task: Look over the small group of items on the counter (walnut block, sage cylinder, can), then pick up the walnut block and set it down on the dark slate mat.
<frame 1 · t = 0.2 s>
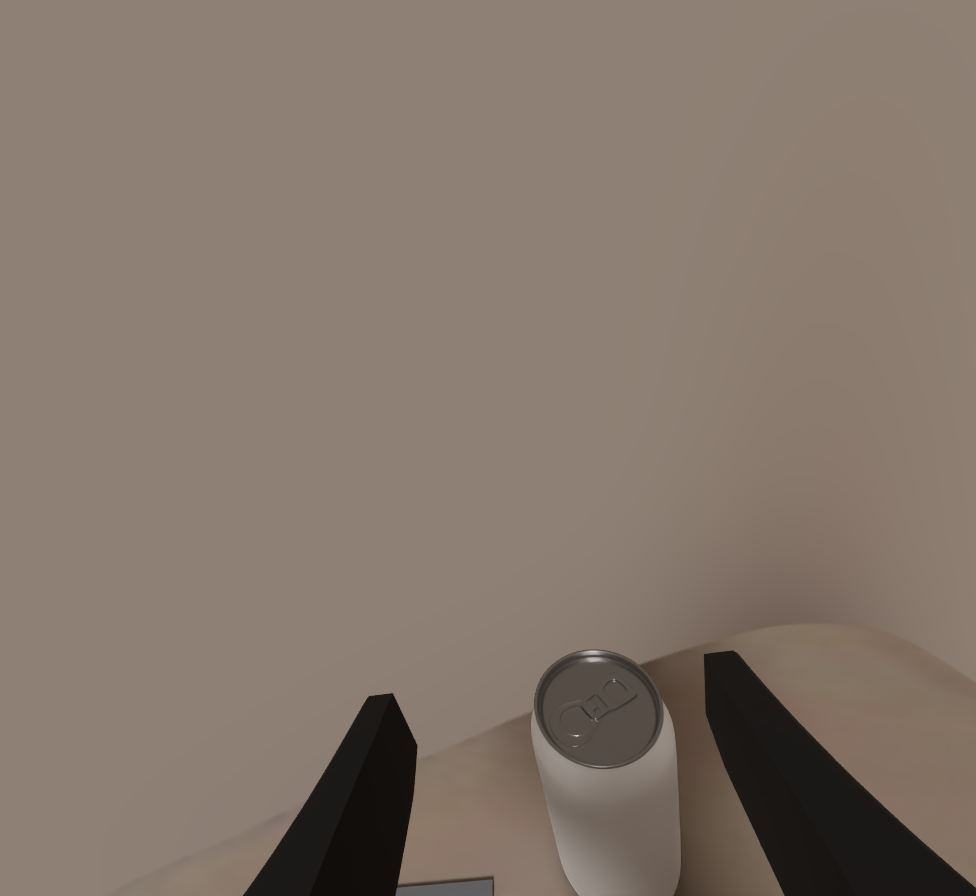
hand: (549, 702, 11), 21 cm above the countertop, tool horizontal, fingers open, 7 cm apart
can: (618, 849, 25), on the countertop
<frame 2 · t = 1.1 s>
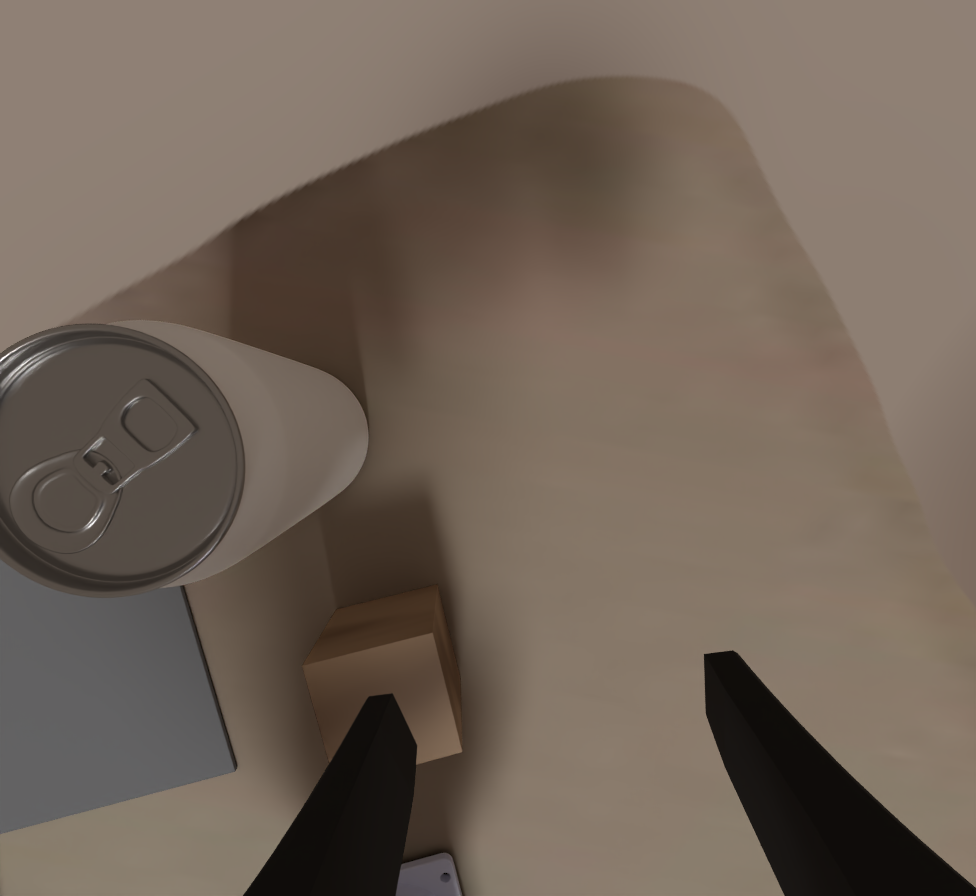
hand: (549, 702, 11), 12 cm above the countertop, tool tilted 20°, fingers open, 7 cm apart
can: (302, 435, 21), on the countertop
walnut block: (399, 643, 22), on the countertop
slate mat: (45, 671, 21), on the countertop
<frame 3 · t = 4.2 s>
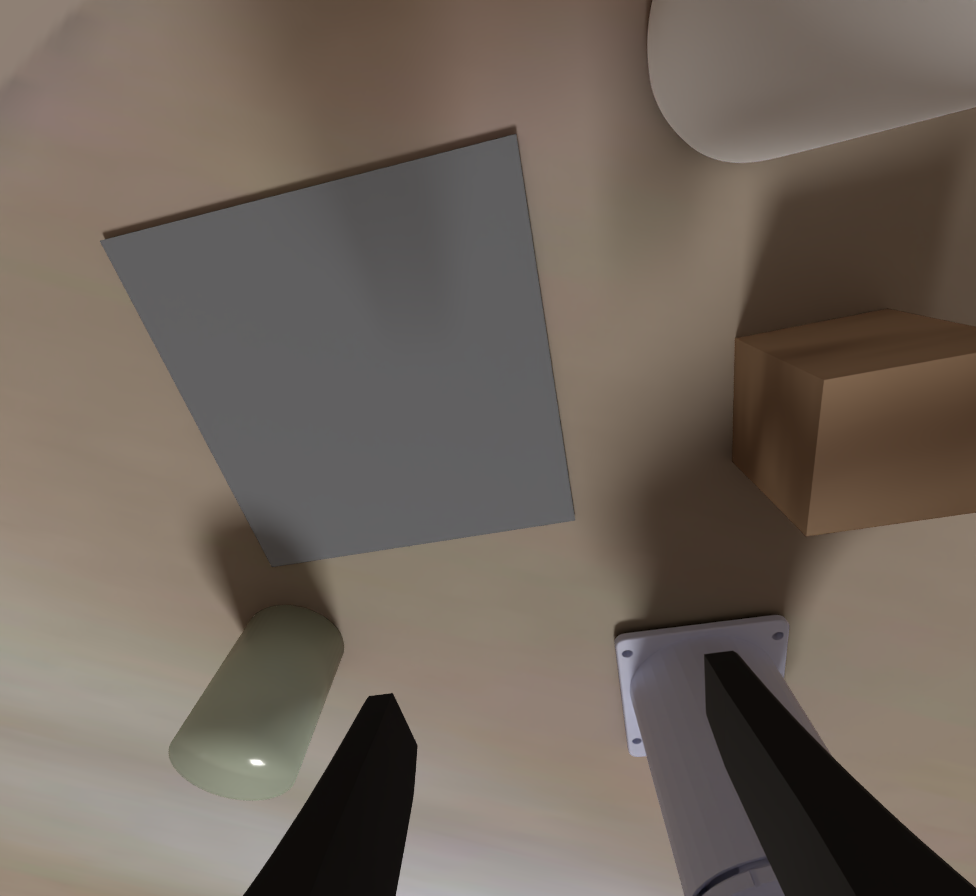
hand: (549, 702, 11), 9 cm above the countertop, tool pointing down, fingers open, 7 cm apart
sage cylinder: (295, 641, 23), on the countertop
can: (758, 30, 12), on the countertop
walnut block: (802, 390, 17), on the countertop
slate mat: (368, 396, 17), on the countertop
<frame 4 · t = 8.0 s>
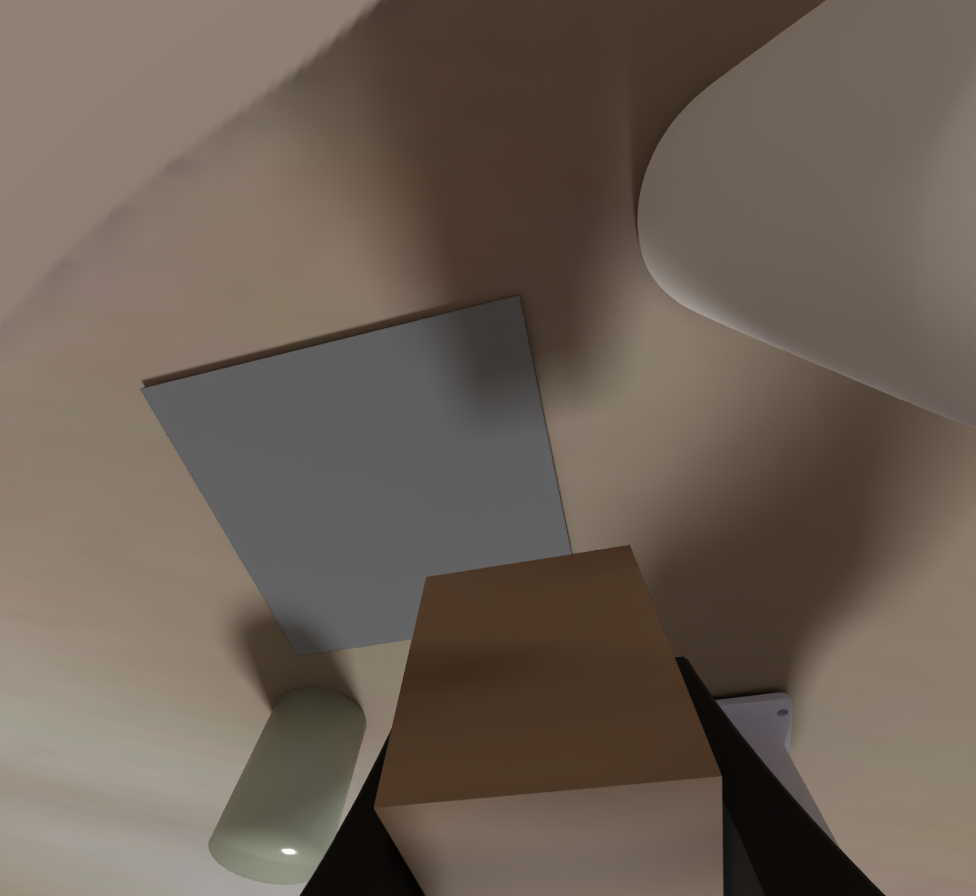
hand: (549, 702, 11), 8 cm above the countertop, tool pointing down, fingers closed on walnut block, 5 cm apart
sage cylinder: (320, 718, 25), on the countertop
can: (740, 203, 14), on the countertop
walnut block: (542, 634, 12), point 7 cm above the countertop, touching gripper
slate mat: (386, 510, 19), on the countertop
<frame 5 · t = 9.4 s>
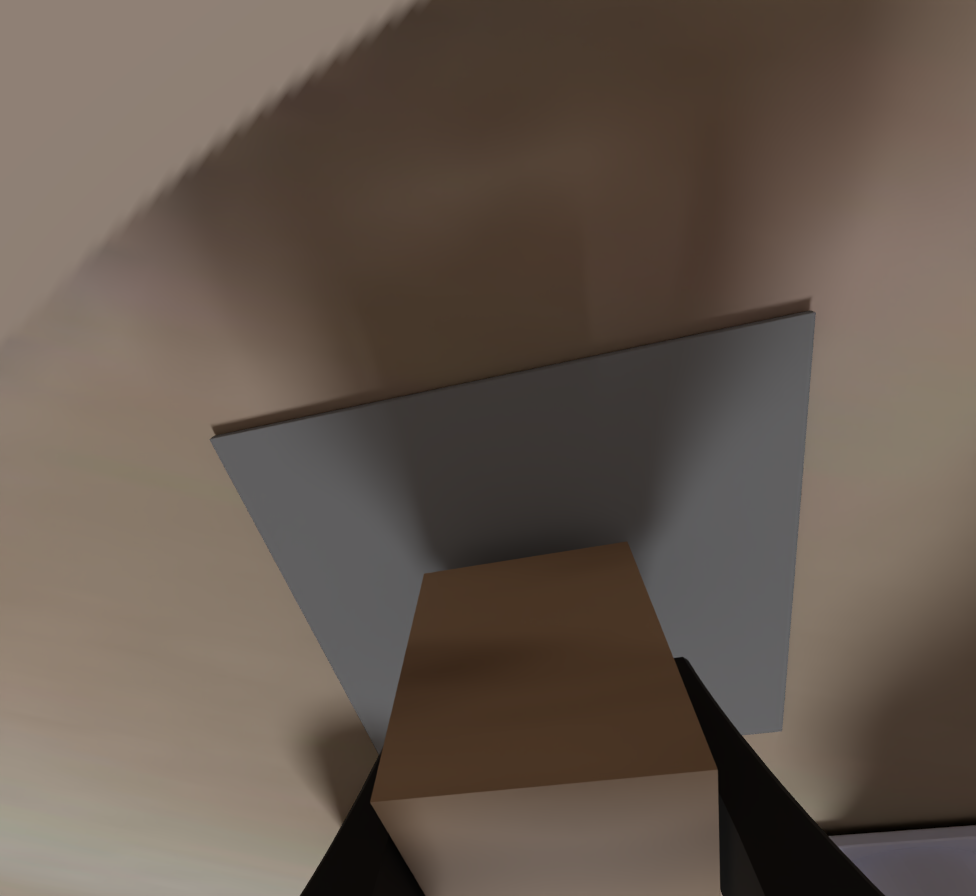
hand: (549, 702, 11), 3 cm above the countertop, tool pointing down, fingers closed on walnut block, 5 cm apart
walnut block: (540, 631, 12), point 1 cm above the countertop, touching gripper
slate mat: (539, 602, 13), on the countertop
when the fingers open (3 cm above the countertop, at t = 10.0 s): walnut block stays where it is, resting on slate mat.
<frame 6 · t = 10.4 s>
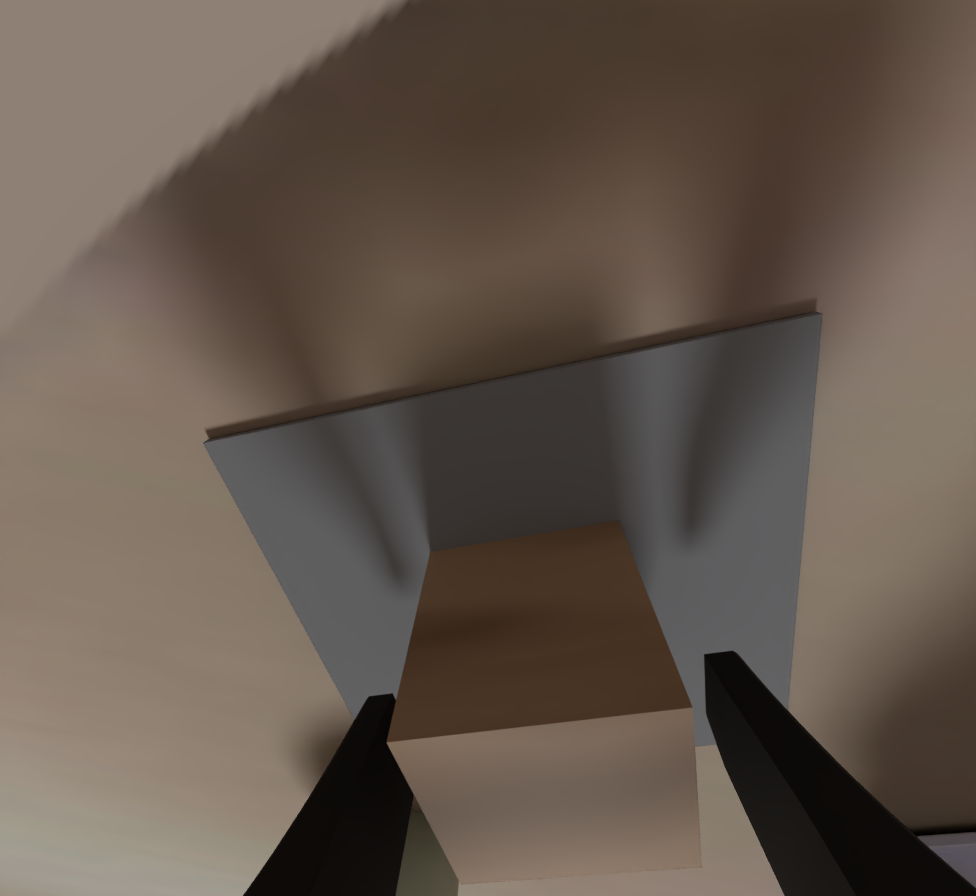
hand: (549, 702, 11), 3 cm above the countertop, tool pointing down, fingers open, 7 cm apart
sage cylinder: (402, 841, 19), on the countertop
walnut block: (538, 606, 13), resting on slate mat
slate mat: (539, 608, 13), on the countertop
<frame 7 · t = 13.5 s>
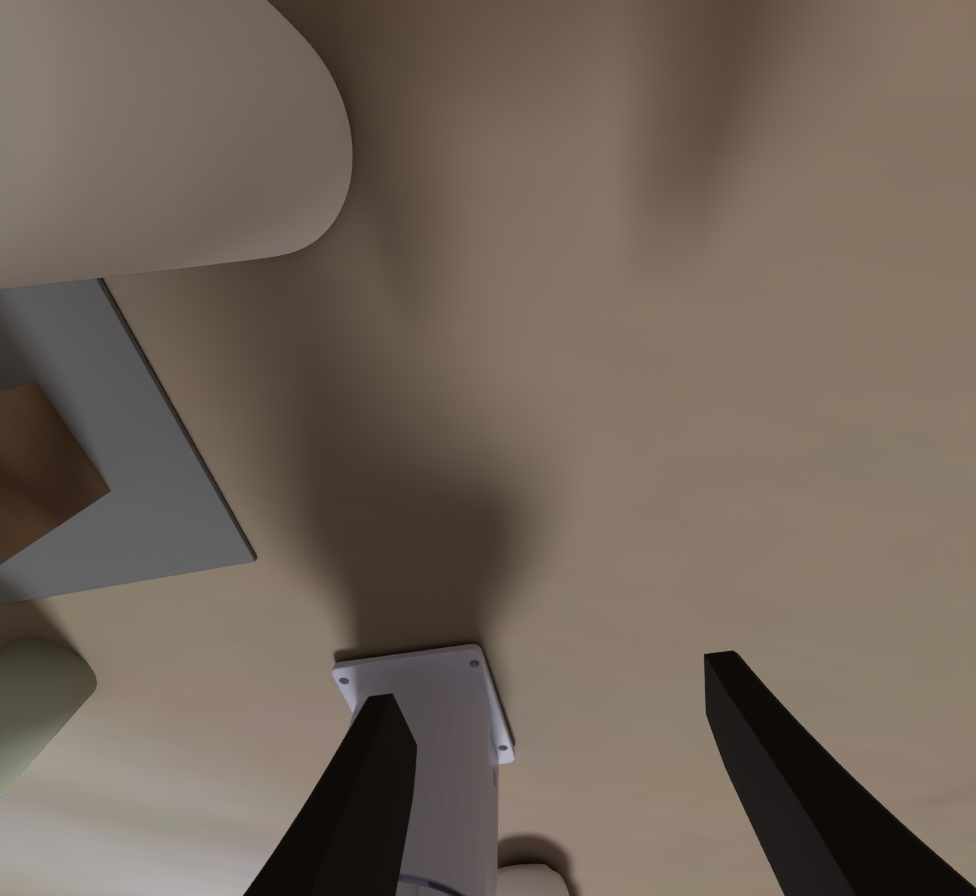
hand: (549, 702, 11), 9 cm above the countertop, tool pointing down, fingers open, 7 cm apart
sage cylinder: (49, 670, 25), on the countertop
can: (255, 143, 14), on the countertop
walnut block: (23, 451, 19), resting on slate mat
slate mat: (32, 454, 19), on the countertop
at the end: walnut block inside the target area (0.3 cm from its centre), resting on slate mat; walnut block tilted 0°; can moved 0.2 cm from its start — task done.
